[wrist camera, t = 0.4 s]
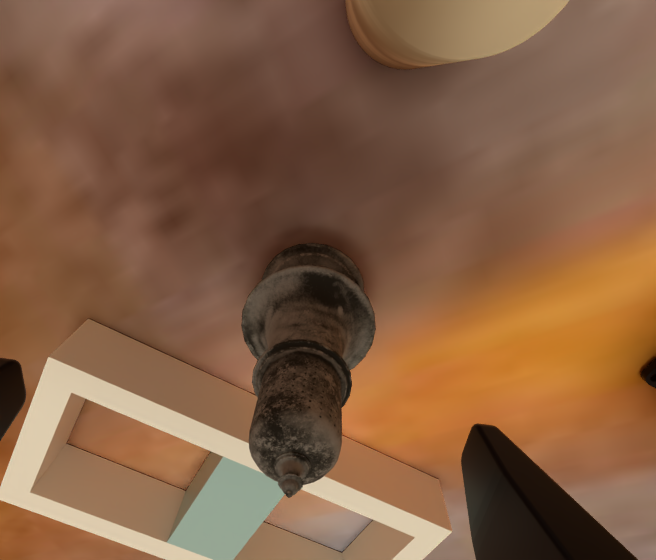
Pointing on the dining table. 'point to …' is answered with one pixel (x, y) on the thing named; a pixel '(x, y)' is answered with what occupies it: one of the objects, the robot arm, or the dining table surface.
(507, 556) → the robot arm
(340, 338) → the salt shaker
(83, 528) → the housing
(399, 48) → the wooden peg
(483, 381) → the dining table surface
